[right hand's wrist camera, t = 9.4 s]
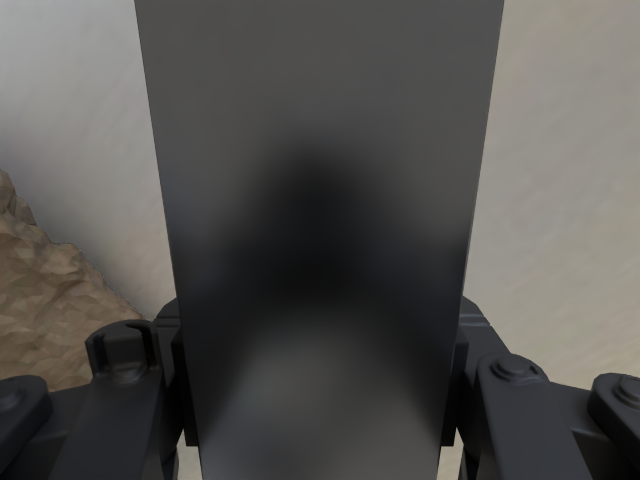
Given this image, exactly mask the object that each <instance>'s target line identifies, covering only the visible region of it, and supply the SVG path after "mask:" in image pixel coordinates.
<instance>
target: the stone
mask: <svg viewBox="0 0 640 480" xmlns="http://www.w3.org/2000/svg"><path fill="white" fill-rule="evenodd" d="M35 224H36V223H35V220H34V218H33V215H32V213H31V210H30V208H29V206H28V205H27V204H26V202H25V201H24V200H23V199H21V198H19V197H17V196H16V192H15V187H14V186H13V185H12V183H11V180H10V178H9V176H8V174H7V173H5V172H3V171H2V170H0V380H2V379H5V378H6V379H7V378H9V377H14V376H21V375H35V376H40V377H42V378H43V379H44V380H45V381H46V382H47V386H48V389H49V392H54V391H59V390H63V389H68V388H73V387H78V386H82V385H85V384H89V383H90V382H91V380H92V378H93V375H92V371H91V367H90V363H89V359H88V355H87V351H86V347H85V342H84V341H85V340H86V339H87V338H88V337H89V336H90V334H92V333H93V332H95V331H96V330H98V329H100V328H101V327H103V326H106V325H109V324H111V323H114V322H118V321H123V320H128V319H143V320H146V319H145V317H144V316H143V315H141V314H140V313H139V312H138V311H137V310H136V309H135V308H133V307H131V306H129V304H128V303H127V301H126V300H124V299H122V298H120V297H117V296H116V295H115V294H114V293H113V292H112V291H111V290H110V289H109V288H108V286H107V285H106V283H105V282H104V280H103V277H102V275H101V274H100V273H99V272H97V271H96V270H94V269H93V267H92V266H91V265H90V264H89V263H88V262H87V261H86V260H85V258H84V256H83V254H82V253H81V252H80V251H79V250H78V249H77V248H76V247H75V246H74V245H72V244H58V245H55V244H52V243H51V241H50V239H49V237H48V236H47V234H46V233H45V232H44V231H43V230H41V229H40V228H38V227H36V226H35Z"/></svg>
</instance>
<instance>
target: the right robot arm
mask: <svg viewBox="0 0 640 480" xmlns="http://www.w3.org/2000/svg"><path fill="white" fill-rule="evenodd" d="M84 342H85V347H86V351H87V355H88V359H89V363H90V367H91V371H92V375H93V378H92V380H91V382H90V383H89V384H85V385H82V386H78V387H73V388H68V389H63V390H59V391H54V392H49V389H48V386H47V382H46V381H45V380H44V379H43V378H42V377H40V376H35V375H21V376H14V377H9V378H7V379H6V378H5V379H2V380H0V480H177V477H178V468H179V459H178V452H177V446H176V445H177V443H178V440H179V438H180V435H181V433H182V430H183V428H184V435H185V441H186V446H198V444H197V437H196V430H195V423H194V416H193V409H192V402H191V395H190V388H189V381H188V374H187V367H186V360H185V353H184V346H183V339H182V332H181V325H180V318H179V311H178V304H177V297H176V298H175V299H173V300H172V301H170V302H169V303H167V304H166V305H164V306H163V308H162V309H161V311H160V312H159V314H158V315H157V318H155V319H154V321H153V322H151V321H147V320H143V319H128V320H123V321H118V322H114V323H111V324H109V325H106V326H103V327H101V328H100V329H98V330H96V331H95V332H93V333H92V334H90V336H89V337H88V338H87V339H86V340H85V341H84ZM456 426H457V429H458V431H459V434H460V436H461V439H462V441H463V444H464V446H463V452H462V458H461V464H460V470H459V476H458V480H640V378H638V377H633V376H631V375H626V374H618V373H606V374H600V375H599V376H598V377H596V378H595V379H594V381H593V385H592V388H591V391H590V390H585V389H580V388H575V387H571V386H566V385H561V384H557V383H554V382H550V381H549V379H548V377H547V375H546V374H545V373H544V371H543V370H542V369H541V368H540V367H539V366H538V365H536V364H535V363H533V362H532V361H531V360H528V359H526V358H524V357H522V356H519V355H516V354H512V353H510V351H509V350H508V349H507V347H506V346H505V344H504V343H503V342H502V340H501V339H500V337H499V336H498V335H497V333H496V332H495V330H494V329H493V328H492V326H490V323H489V322H488V321H487V319H486V318H485V317H484V316H483V314H482V312H481V311H480V309H479V308H478V307H477V305H476V304H475V303H473V302H472V301H470V300H469V299H467V298H466V297H464V296H462V303H461V310H460V317H459V325H458V332H457V339H456V346H455V353H454V360H453V367H452V374H451V381H450V388H449V395H448V402H447V409H446V416H445V424H444V431H443V438H442V445H441V446H454V439H455V433H456Z"/></svg>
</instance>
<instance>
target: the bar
mask: <svg viewBox="0 0 640 480" xmlns="http://www.w3.org/2000/svg"><path fill="white" fill-rule="evenodd" d="M134 2H135V9H136V16H137V23H138V30H139V37H140V44H141V51H142V58H143V65H144V72H145V79H146V86H147V93H148V100H149V107H150V114H151V121H152V128H153V135H154V142H155V149H156V156H157V163H158V170H159V177H160V184H161V191H162V198H163V205H164V212H165V219H166V226H167V233H168V240H169V247H170V254H171V261H172V268H173V276H174V283H175V290H176V297H177V304H178V311H179V318H180V325H181V332H182V339H183V346H184V353H185V360H186V367H187V374H188V381H189V388H190V395H191V402H192V409H193V416H194V423H195V430H196V437H197V444H198V451H199V458H200V465H201V472H202V479H203V480H437V473H438V466H439V459H440V452H441V445H442V438H443V431H444V424H445V416H446V409H447V402H448V395H449V388H450V381H451V374H452V367H453V360H454V353H455V346H456V339H457V332H458V325H459V317H460V310H461V303H462V296H463V289H464V282H465V275H466V268H467V261H468V254H469V247H470V240H471V233H472V225H473V218H474V211H475V204H476V197H477V190H478V183H479V176H480V169H481V162H482V155H483V148H484V141H485V134H486V126H487V119H488V112H489V105H490V98H491V91H492V84H493V77H494V70H495V63H496V56H497V49H498V42H499V35H500V27H501V20H502V13H503V6H504V0H134Z"/></svg>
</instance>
